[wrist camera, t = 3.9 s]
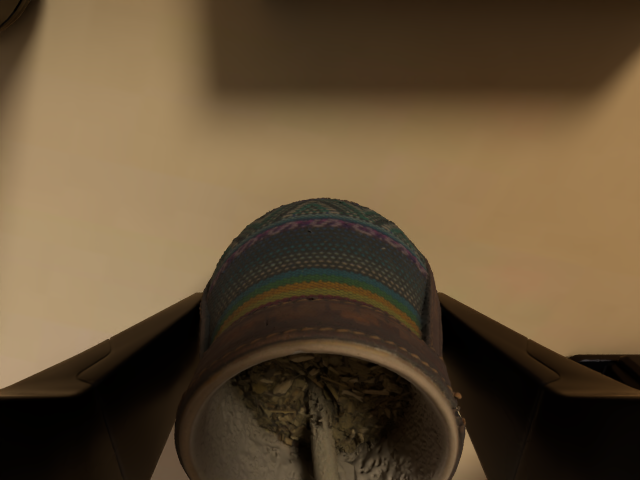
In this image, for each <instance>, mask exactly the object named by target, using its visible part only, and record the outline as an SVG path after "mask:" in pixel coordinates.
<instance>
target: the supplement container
mask: <svg viewBox="0 0 640 480" xmlns="http://www.w3.org/2000/svg"><path fill="white" fill-rule="evenodd" d="M29 2H30V0H0V32H1V31H3V30H4V29H6V28H7V27H9V26H10V25H12V24H13V23H14V22H15V21H16V20H17V19H18V18H19V17H20V15H21V14H22V13H23V12H24V10H25V9H26V7H27V6H28V4H29Z"/></svg>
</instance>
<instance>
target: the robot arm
mask: <svg viewBox="0 0 640 480" xmlns="http://www.w3.org/2000/svg"><path fill="white" fill-rule="evenodd" d="M202 294H203V293H195V294H193V295H191V296H189V297H187V298H185V299H183V300H181V301H180V302H178V303H176V304H174V305H172V306H170V307H168V308H166V309H164V310H162V311H160V312H159V313H157V314H155V315H153V316H151V317H149V318H147V319H145V320H143V321H141V322H140V323H138V324H136V325H134V326H132V327H130V328H128V329H126V330H124V331H122V332H121V333H119V334H117V335H115V336H113V337H111V338H110V340H109V339H107V340H105V341H103V342H101V343H100V344H98V345H96V346H94V347H92V348H90V349H88V350H86V351H84V352H82V353H80V354H78V355H76V356H73V357H71V358H69V359H67V360H65V361H63V362H61V363H59V364H56V365H54V366H52V367H50V368H48V369H45V370H43V371H41V372H39V373H37V374H34V375H32V376H30V377H28V378H26V379H24V380H21V381H19V382H17V383H15V384H13V385H10V386H8V387H5V388H3V389H0V480H150V479H151V476H152V474H153V472H154V469H155V467H156V465H157V462H158V460H159V458H160V455H161V453H162V450H163V448H164V446H165V443H166V441H167V439H168V436H169V434H170V432H171V429H172V427H173V425H174V422H175V420H176V412H177V407H178V405H179V403H180V400H181V397H182V395H183V394H184V392H185V391H186V390H187V388H188V386H189V384H190V383H191V381H192V379H193V376H194V372H195V370H196V369H197V367H198V364H199V361H200V357H199V355H198V354H199V351H200V347H199V342H200V337H199V321H200V314H199V313H200V309H199V307H200V303H201V298H202ZM437 294H438V298H439V301H440V307H441V322H442V332H443V345H442V346H443V348H442V355H443V357H442V358H443V361H444V364H445V365H446V367H447V373H448V377H449V380H450V382H451V389H452V390H453V392H455V393H457V392H458V393H460V394H461V396H462V398H461V399H458V398H456V397H455V398H456V400H457V407H458V406H459V407H460V408H461V409H459V413H460V415H461V418H462V417H463V418H465V422H466V425H465V427H466V429H467V432H468V434H469V437H470V439H471V441H472V444H473V446H474V449H475V451H476V453H477V456H478V458H479V460H480V463H481V465H482V468H483V470H484V472H485V475H486V477H487V480H640V355H574V356H572V357H570V358H569V359H568V358H566V357H564V356H562V355H560V354H558V353H556V352H554V351H552V350H550V349H548V348H546V347H544V346H542V345H540V344H538V343H536V342H534V341H532V340H531V339H528V338H527V337H525V336H523V335H521V334H519V333H517V332H515V331H513V330H512V329H510V328H508V327H506V326H504V325H502V324H500V323H498V322H496V321H495V320H493V319H491V318H489V317H487V316H485V315H483V314H481V313H479V312H478V311H476V310H474V309H472V308H470V307H468V306H466V305H464V304H462V303H461V302H459V301H457V300H455V299H453V298H451V297H449V296H447V295H445V294H444V293H437Z"/></svg>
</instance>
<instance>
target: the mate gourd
mask: <svg viewBox="0 0 640 480" xmlns="http://www.w3.org/2000/svg"><path fill="white" fill-rule="evenodd" d="M199 309H200V313H199V314H200V321H199V337H200V342H199V347H200V351H199V354H198V355H199V357H200V361H199V364H198V367H197V369H196V370H195V372H194V376H193V379H192V381H191V383H190V384H189V386H188V388H187V390H186V391H185V392H184V394H183V395H182V397H181V400H180V403H179V405H178V407H177V412H176V421H175V433H174V436H175V438H174V439H175V446H176V451H177V454H178V458H179V461H180V463H181V465H182V467H183V469H184V471H185V472H186V474H187V476H188V477H189V479H190V480H451V479H452V477H453V476H454V474H455V472H456V469H457V466H458V464H459V461H460V458H461V454H462V450H463V443H464V438H465V429H466V428H465V425H466V422H465V418H463V417H462V418H461V417H460V415H459V414H458V412H457V411H459V409H461V408H460V407H459V406H458V407H457V400H456V398H458V399H461V398H462V396H461V394H460V393H458V392H457V393H455V392H453V390H452V389H451V382H450V380H449V377H448V373H447V367H446V365H445V364H444V361H443V358H442V357H443V355H442V348H443V346H442V345H443V332H442V322H441V307H440V301H439V298H438V294H437V290H436V286H435V281H434V277H433V273H432V270H431V268H430V265H429V263H428V260H427V259H426V258H425V256H423V255H422V254H421V252H420V251H419V250H418V249H417V248H416V247H415V245H414V243H412V242H411V241H410V240H409V239H408V237H407V236H406V235H405V234H404V233H403V231H401V230H400V229H399V228H398V227H397V226H396V225H395V223H393V222H392V221H389V220H387V219H386V218H384V217H383V216H381V215H380V214H378V213H376V212H375V211H373V210H371V209H369V208H367V207H362V206H360V205H359V204H357V203H353V202H349V201H347V200H344V201H343V200H340V199H330V198H328V199H327V198H317V199H308V200H302V201H298V202H293V203H291V204H287V205H284V206H283V205H282V206H281V207H279V208H276V209H273V210H272V211H271V212H270V211H269V212H267V213H266V214H265V215H263V216H262V217H260V218H258V219H256V220H255V221H254V222H252V223H251V224H250V225H247V227H246V228H245V229H244V230H243V231H242V232H241V233H240V235H239V236H238V237H237V238H235V239H234V240H233V241H232V243H231V244H230V245H229V247H228V248H227V249H226V251H224V254H223V255H222V256H221V259H220V260H219V262H218V263H217V267H216V269H215V271H214V273H213V275H212V277H211V279H210V280H209V282H208V284H207V285H206V288H205V289H204V291H203V294H202V298H201V303H200V307H199ZM455 397H456V398H455ZM456 408H458V409H456Z"/></svg>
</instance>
